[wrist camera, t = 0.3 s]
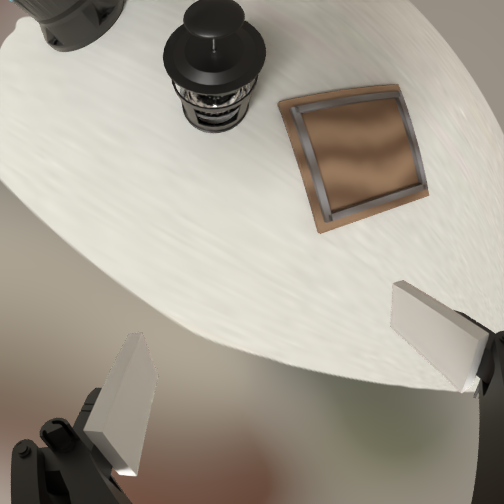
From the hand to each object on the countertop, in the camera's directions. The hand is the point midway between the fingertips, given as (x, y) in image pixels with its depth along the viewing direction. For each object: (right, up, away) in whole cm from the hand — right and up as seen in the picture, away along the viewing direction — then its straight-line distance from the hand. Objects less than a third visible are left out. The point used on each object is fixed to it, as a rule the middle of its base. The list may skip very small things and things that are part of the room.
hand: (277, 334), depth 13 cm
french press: (-6, +26, +23) cm, 35 cm away
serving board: (+16, +20, +26) cm, 36 cm away
